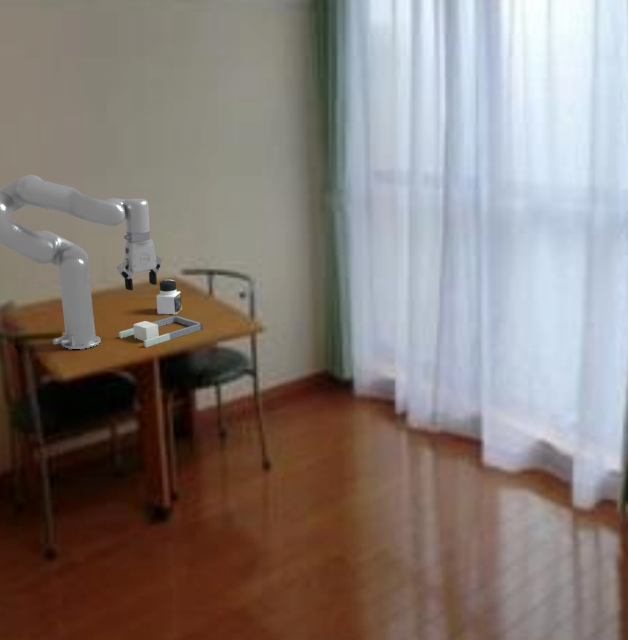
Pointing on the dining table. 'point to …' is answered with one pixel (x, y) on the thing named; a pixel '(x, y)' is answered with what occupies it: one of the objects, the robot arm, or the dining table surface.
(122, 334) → the bay
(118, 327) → the dining table surface
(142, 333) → the white block
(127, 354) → the dining table surface
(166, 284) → the medicine bottle
